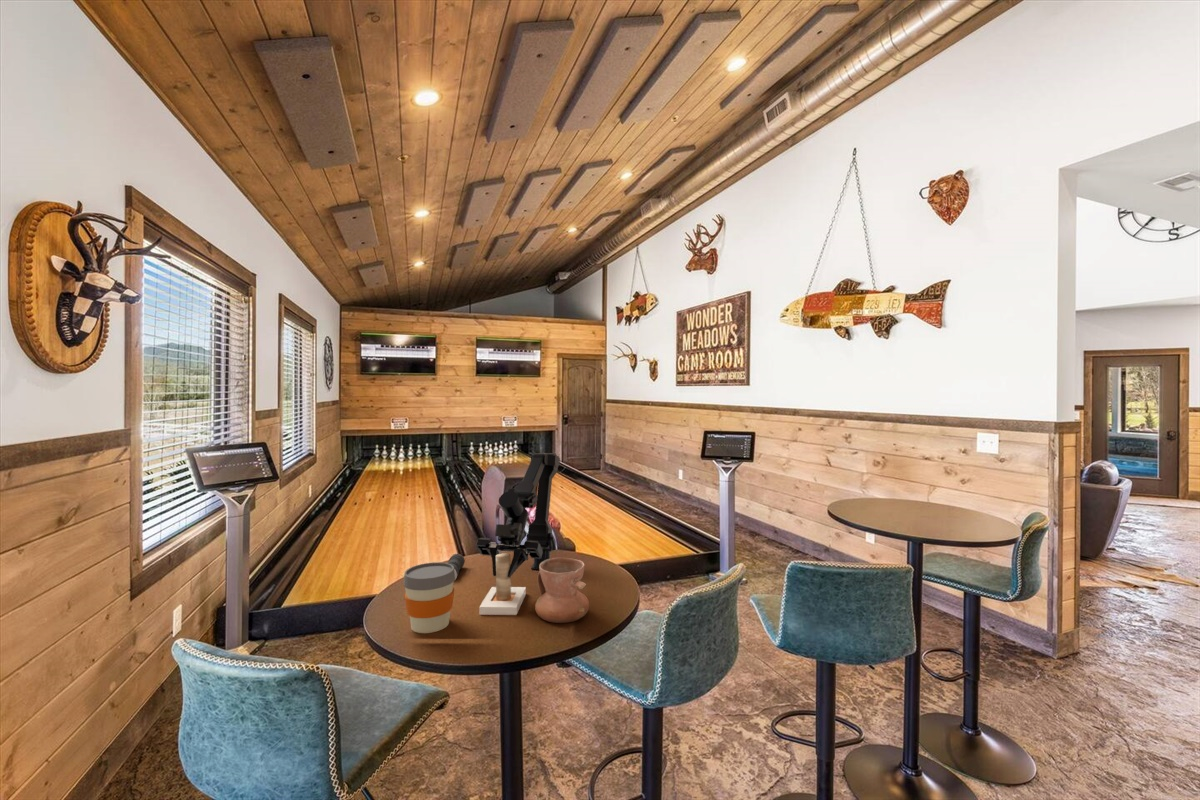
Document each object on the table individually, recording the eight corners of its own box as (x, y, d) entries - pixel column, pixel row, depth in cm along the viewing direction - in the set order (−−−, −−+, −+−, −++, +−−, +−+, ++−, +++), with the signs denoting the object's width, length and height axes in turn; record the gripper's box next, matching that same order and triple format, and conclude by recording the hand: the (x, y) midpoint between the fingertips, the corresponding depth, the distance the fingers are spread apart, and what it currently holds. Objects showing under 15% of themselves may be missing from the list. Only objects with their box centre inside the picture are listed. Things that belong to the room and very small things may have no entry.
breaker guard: (491, 597, 151) (491, 586, 151) (525, 597, 151) (525, 587, 151) (479, 618, 137) (479, 607, 137) (516, 618, 137) (516, 607, 137)
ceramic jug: (603, 617, 137) (603, 565, 137) (562, 636, 127) (561, 579, 126) (560, 598, 150) (559, 550, 149) (519, 614, 140) (518, 562, 139)
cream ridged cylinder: (494, 596, 145) (494, 554, 145) (508, 594, 147) (508, 552, 146) (498, 601, 141) (497, 558, 141) (512, 599, 143) (512, 556, 143)
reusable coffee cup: (437, 613, 140) (437, 558, 140) (465, 626, 132) (465, 568, 132) (394, 630, 131) (393, 571, 130) (421, 645, 123) (420, 583, 122)
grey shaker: (449, 567, 177) (449, 552, 177) (465, 567, 178) (465, 551, 178) (439, 584, 162) (438, 567, 162) (456, 583, 162) (456, 566, 162)
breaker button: (496, 599, 147) (496, 594, 147) (515, 599, 147) (515, 594, 147) (491, 607, 141) (491, 602, 141) (511, 607, 141) (511, 602, 141)
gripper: (477, 510, 149) (460, 560, 139) (539, 513, 145) (525, 565, 135) (489, 530, 157) (473, 579, 147) (547, 533, 153) (536, 583, 143)
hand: (501, 576), depth 143 cm, fingers closed on cream ridged cylinder, 4 cm apart
